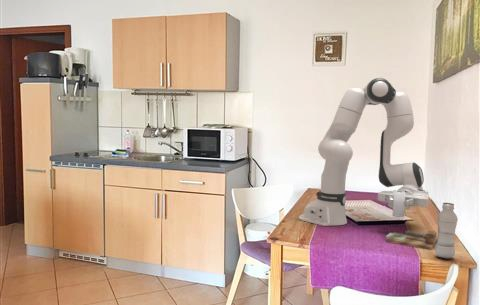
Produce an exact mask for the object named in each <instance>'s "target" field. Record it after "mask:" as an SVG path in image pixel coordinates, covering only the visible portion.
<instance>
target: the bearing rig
mask: <svg viewBox="0 0 480 305" xmlns="http://www.w3.org/2000/svg"><path fill="white" fill-rule="evenodd" d="M385 239H386V240H385V241H386V243H391V244H397V245H402V246H406V247H407V246H408V247H413V248H418V249H424V250H430V251H433V249H434V248H435V246H436V243H437V231H434V230H429V229H428V230H427V232H423V233H422V232H417V231H416V232H415V231H410V230H405V233H403V232H396V231H393V232H389V233H388V234H387V235H386V236H385Z"/></svg>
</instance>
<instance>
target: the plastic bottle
mask: <svg viewBox="0 0 480 305" xmlns="http://www.w3.org/2000/svg"><path fill="white" fill-rule="evenodd" d="M441 208H442V210H441V211H440V212H439V213H438V215H437V236H436V239H437V243H436V245H435V246H434V254H435V256H436V257H438V258H441V259H446V260H447V259H448V260H450V259H453V258H454V257H455V254H456V248H455V247H456V246H455V236H456V235H455V233H456V229H457V225H458V220H459V219H458V216H457V214H456V212H454V210H455V204H454V203H452V202H442V207H441Z"/></svg>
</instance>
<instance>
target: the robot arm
mask: <svg viewBox="0 0 480 305" xmlns="http://www.w3.org/2000/svg"><path fill="white" fill-rule="evenodd" d="M367 105H369V106H370V105H371V106H376V105H378V106H379V105H382V106H383V107H384V109H385V112H386V120H387V122H386V126H385V129H384V130H382V132H381V136H380V144H379V146H380V148H379V149H380V151H379V168H378V181H379V183H380V184H381V185H383V186H384V187H385V188H391V187H395V186H400V187H399V188H398V189H397V190H396V191H404V192H405V201H404V202H405V203H404V205H405V207H409V208H410V207H422V208H428V207H429V201H430V195H429V192H428V190H424V187H423V185H424V182H425V180H424V172H423V170H422V168H421V166H420V165H419V164H418V163H416V162H405V163H397V164H391V148H392V145H393V143H394V142H396V141H397V140H399V139H401V138H403V137H405V136H407V135H408V134H409V133H410V132H411V131H412V130H413V128H414V124H415V123H414V122H415V121H414V119H415V117H414V113H413V108H412V107H413V106H412V104H411V100H410V98H409V95H408V94H407V93H406V92H403V91H397V90H396V89H395V88H394V87H393V85H392V83H390V82H389V81H388V80H387V79H385V78H383V77H377V78H373V79H372V80H370V81H369V82H368V83H367V84H366V85H365V87H364V88H360V87H349V88H348V89H347V90H346V91H345V93H344V94H343V97H342V98H341V99H340V102H339V105H338V107H337V109H336V113H335V115H334V117H333V119H332V122H331V124H330V126H329V128H328V130H327V131H326V133H325V135H324V137H323V139H322V140H321V141H320V142H319V144H318V150H317V151H318V153H319V155H320V157H321V158H322V159H324V161H325V162H324V168H323V171H322V173H321V176H320V177H321V180H320V189H319V191H318V192H316V193H315V196H316V199H314V200H312V201H311V202H309V203H308V204H306V206H305V208H304V210H303V213H302V214H300V215H298V220H299V221H303V222H307V223H310V224H311V223H312V224H315V225H319V226H322V227H329V226H343V225H346V224H347V223H348V221H347V216H346V202H347V195H346V194H347V193H346V178H347V172H348V168H349V164H350V161H351V160H352V158H353V156H354V155H353V154H354V153H353V152H354V151H353V148H352V147H351V146H350V144H348V141H349V140H350V139H351V137H352V135H353V134H354V133H355V132H356V130H357V128H358V124H359V122H360V120H361V118H362V114H363V112H364V109H365V108H366V106H367ZM393 191H394V190H381V191H379V192H378V193H377V200H378V201H379V202H384V203H388V202H389V203H393V197H394V192H393Z"/></svg>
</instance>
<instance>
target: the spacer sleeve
mask: <svg viewBox="0 0 480 305" xmlns="http://www.w3.org/2000/svg"><path fill="white" fill-rule="evenodd" d="M393 191H394V190H393ZM404 201H405V192H404V191H397V190H396V191H394V197H393V209H392V217H395V218H405V205H404V203H405V202H404Z"/></svg>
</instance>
